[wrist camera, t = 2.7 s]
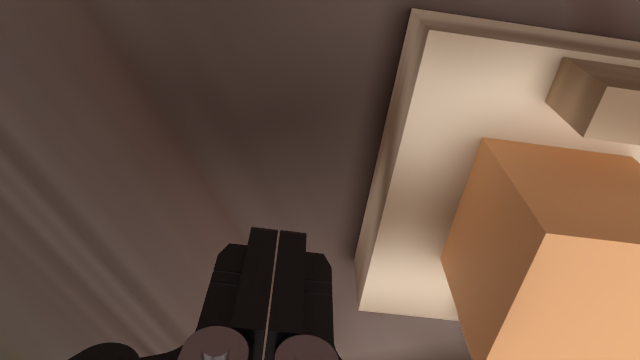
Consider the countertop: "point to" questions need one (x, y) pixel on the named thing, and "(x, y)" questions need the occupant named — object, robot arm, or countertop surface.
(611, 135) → the cream tray
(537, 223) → the block
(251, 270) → the robot arm
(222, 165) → the countertop surface
